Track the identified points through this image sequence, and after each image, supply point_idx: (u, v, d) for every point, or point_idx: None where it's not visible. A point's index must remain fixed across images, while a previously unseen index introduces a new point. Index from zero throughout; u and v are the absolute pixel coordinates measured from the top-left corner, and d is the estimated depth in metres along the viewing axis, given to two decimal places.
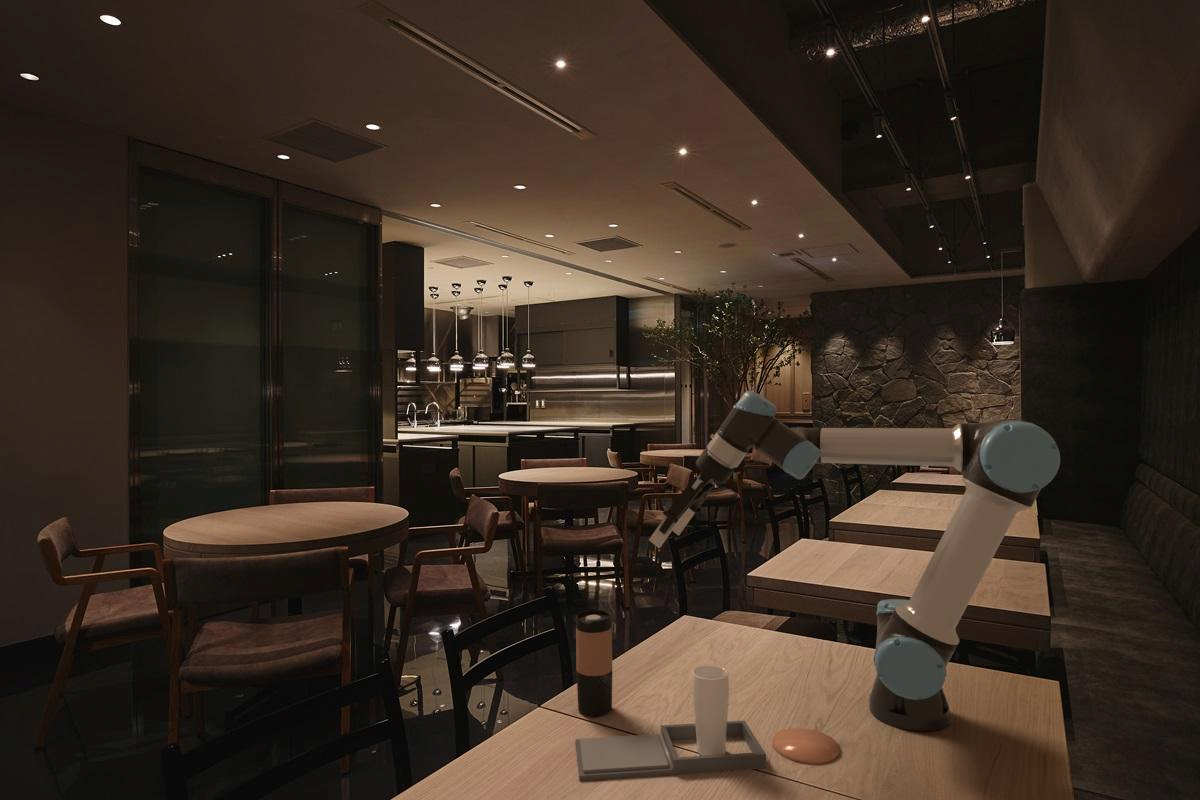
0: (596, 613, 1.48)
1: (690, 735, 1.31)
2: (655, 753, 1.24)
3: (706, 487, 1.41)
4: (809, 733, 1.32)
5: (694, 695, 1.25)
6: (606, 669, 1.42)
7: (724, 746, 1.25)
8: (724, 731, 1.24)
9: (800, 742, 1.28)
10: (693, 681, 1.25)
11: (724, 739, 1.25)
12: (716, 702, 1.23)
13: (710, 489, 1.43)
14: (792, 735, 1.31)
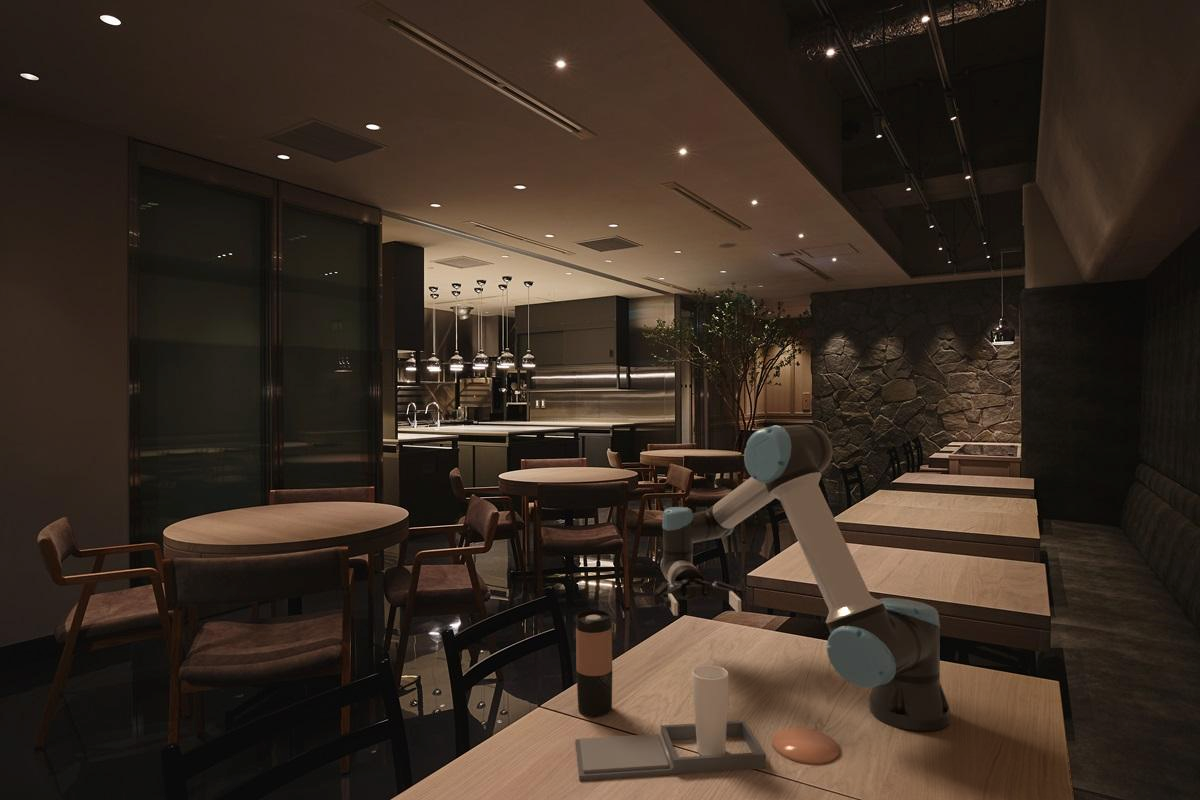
0: (596, 613, 1.48)
1: (690, 735, 1.31)
2: (655, 753, 1.24)
3: None
4: (809, 733, 1.32)
5: (694, 695, 1.25)
6: (606, 669, 1.42)
7: (724, 746, 1.25)
8: (724, 731, 1.24)
9: (800, 742, 1.28)
10: (693, 681, 1.25)
11: (724, 739, 1.25)
12: (716, 702, 1.23)
13: (695, 579, 1.57)
14: (792, 735, 1.31)
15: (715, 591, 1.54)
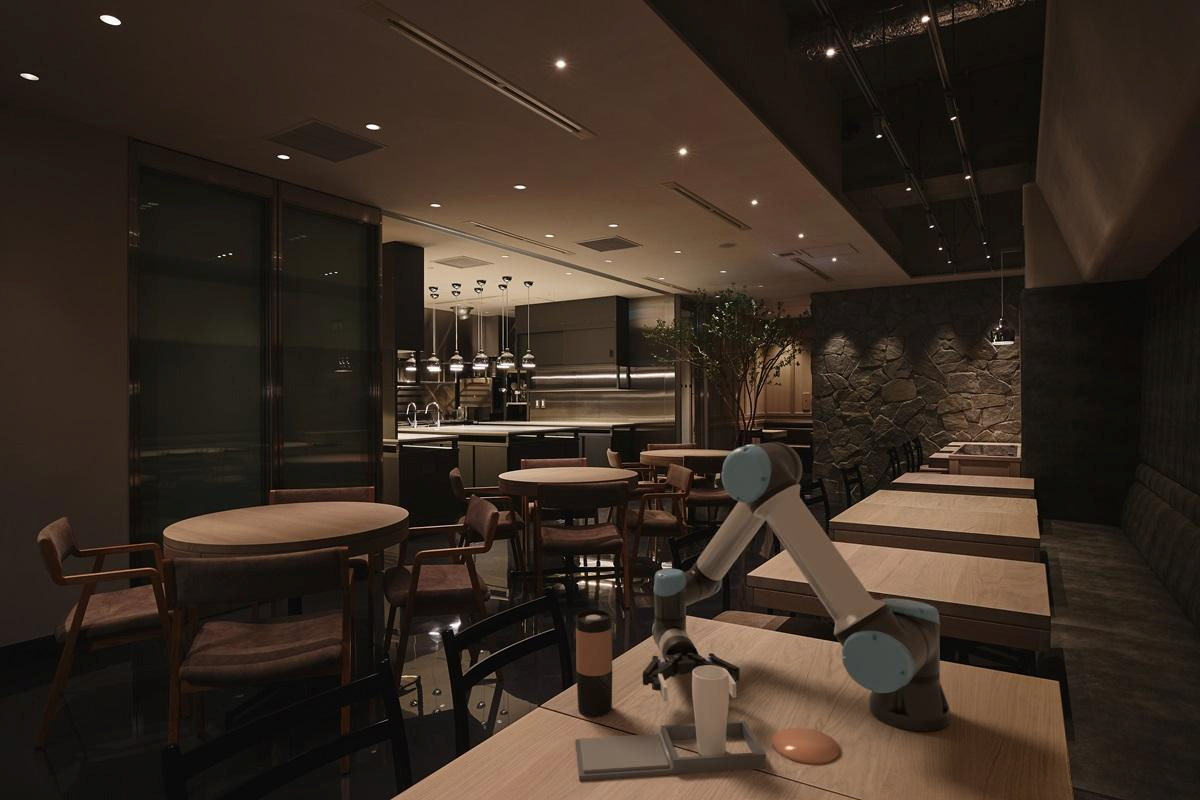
0: (596, 613, 1.48)
1: (690, 735, 1.31)
2: (655, 753, 1.24)
3: None
4: (809, 733, 1.32)
5: (694, 695, 1.25)
6: (606, 669, 1.42)
7: (724, 746, 1.25)
8: (724, 731, 1.24)
9: (800, 742, 1.28)
10: (693, 681, 1.25)
11: (724, 739, 1.25)
12: (716, 702, 1.23)
13: (688, 654, 1.47)
14: (792, 735, 1.31)
15: None
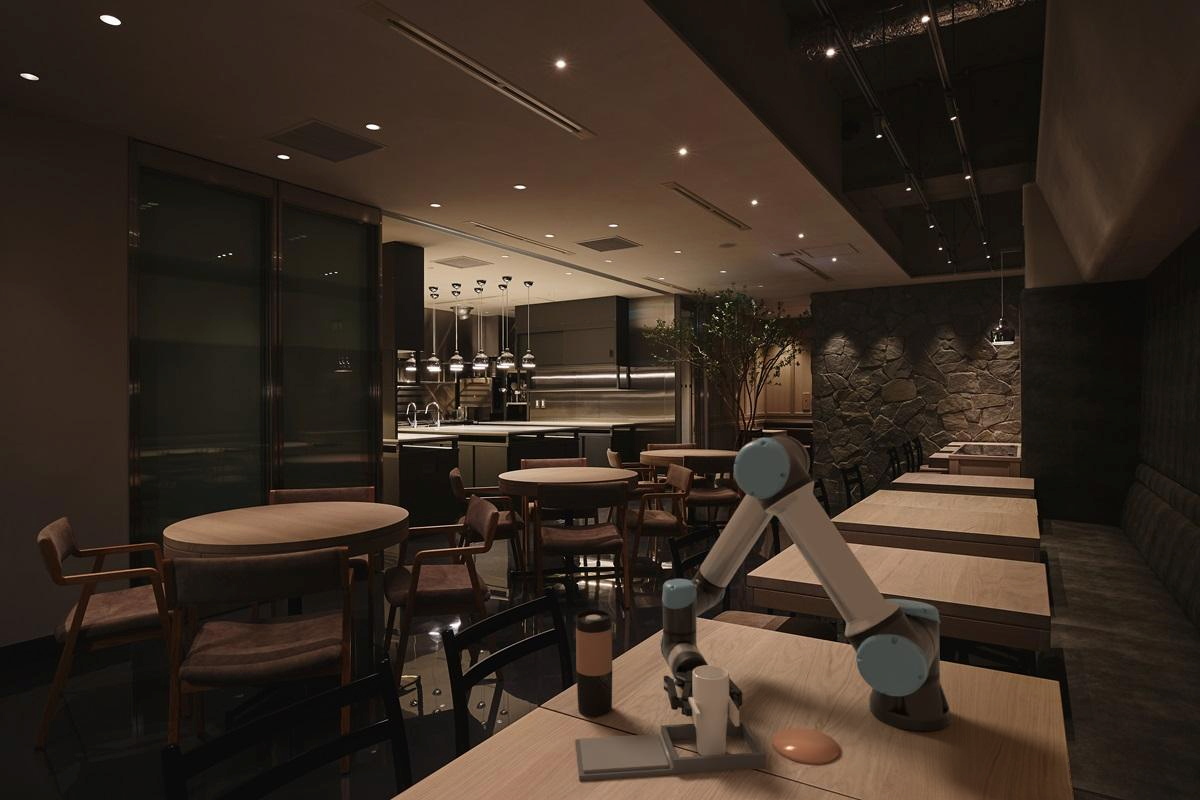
0: (596, 613, 1.48)
1: (690, 735, 1.31)
2: (655, 753, 1.24)
3: None
4: (809, 733, 1.32)
5: (694, 695, 1.25)
6: (606, 669, 1.42)
7: (724, 746, 1.25)
8: (724, 731, 1.24)
9: (800, 742, 1.28)
10: (693, 681, 1.25)
11: (724, 739, 1.25)
12: (716, 702, 1.23)
13: None
14: (792, 735, 1.31)
15: None
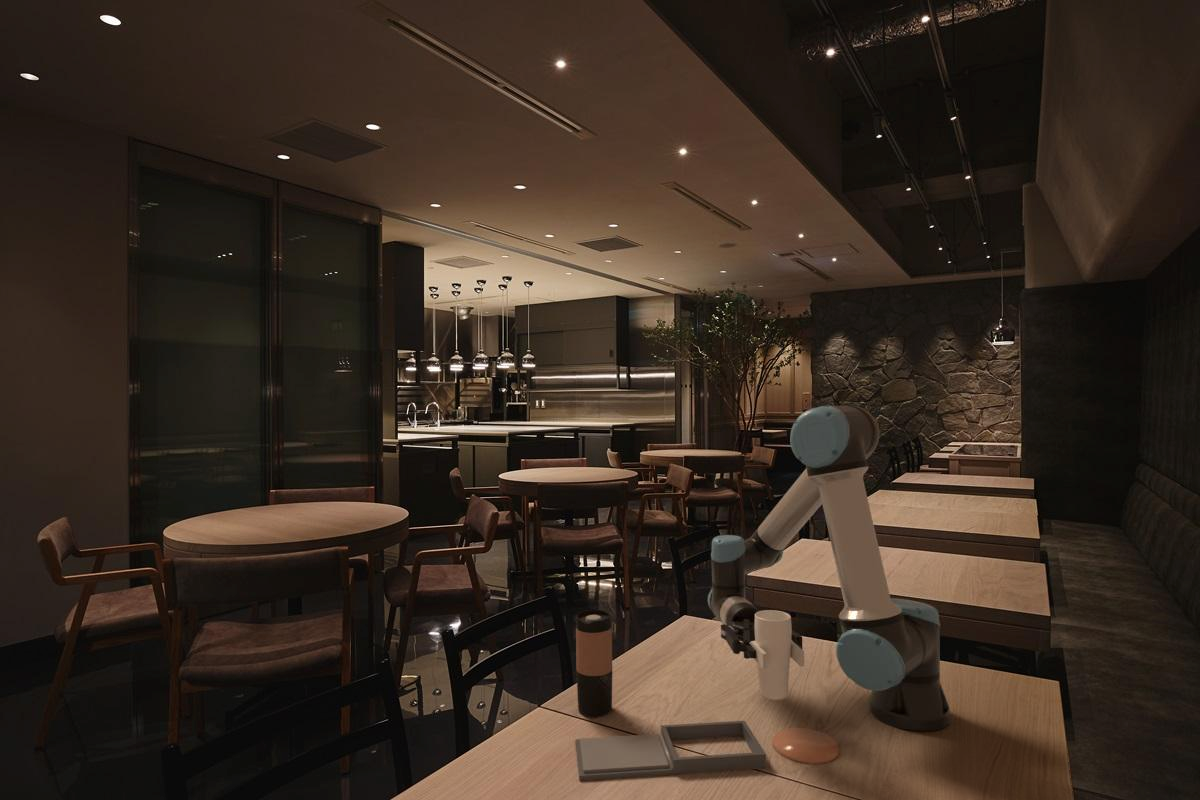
0: (596, 613, 1.48)
1: (690, 735, 1.31)
2: (655, 753, 1.24)
3: (743, 623, 1.39)
4: (809, 733, 1.32)
5: (758, 637, 1.27)
6: (606, 669, 1.42)
7: (787, 687, 1.27)
8: (787, 672, 1.26)
9: (800, 742, 1.28)
10: (756, 624, 1.27)
11: (787, 680, 1.27)
12: (780, 643, 1.25)
13: None
14: (792, 735, 1.31)
15: None
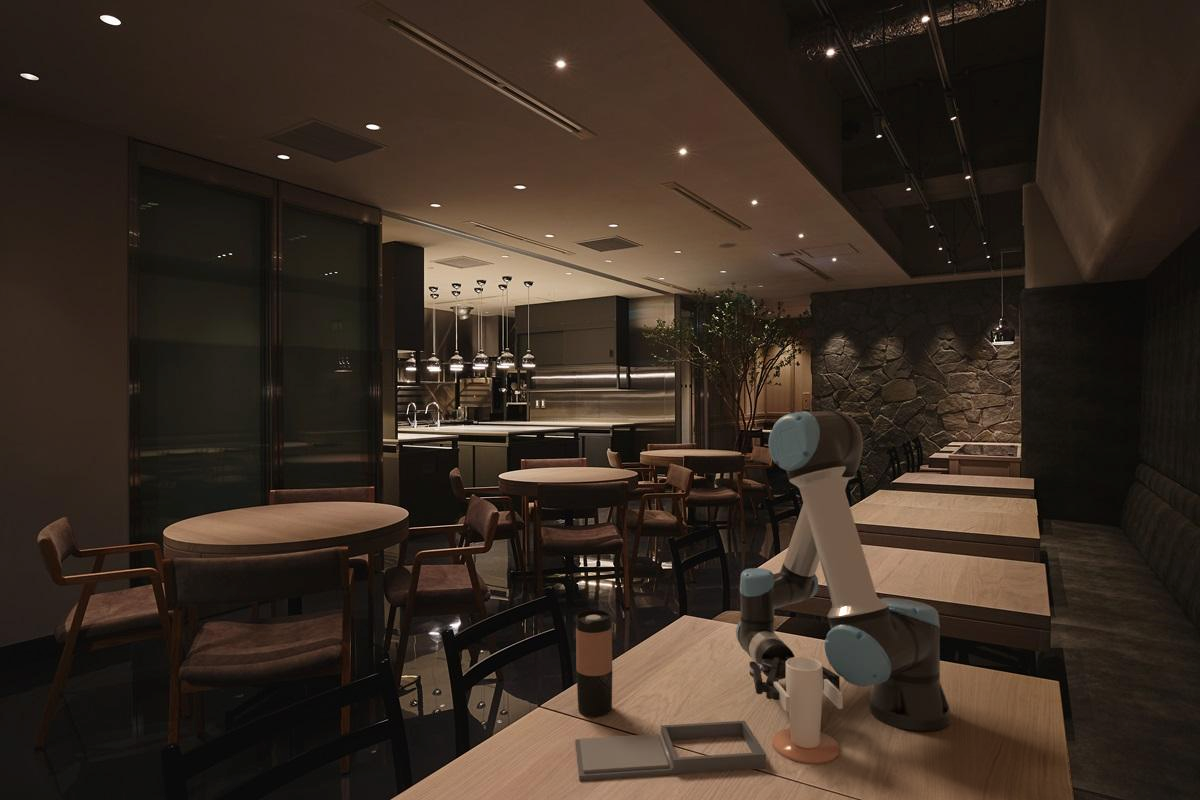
0: (596, 613, 1.48)
1: (690, 735, 1.31)
2: (655, 753, 1.24)
3: (773, 661, 1.39)
4: None
5: (789, 686, 1.27)
6: (606, 669, 1.42)
7: (819, 735, 1.27)
8: (819, 721, 1.26)
9: None
10: (788, 672, 1.27)
11: (819, 729, 1.27)
12: (813, 692, 1.25)
13: (786, 658, 1.39)
14: None
15: None
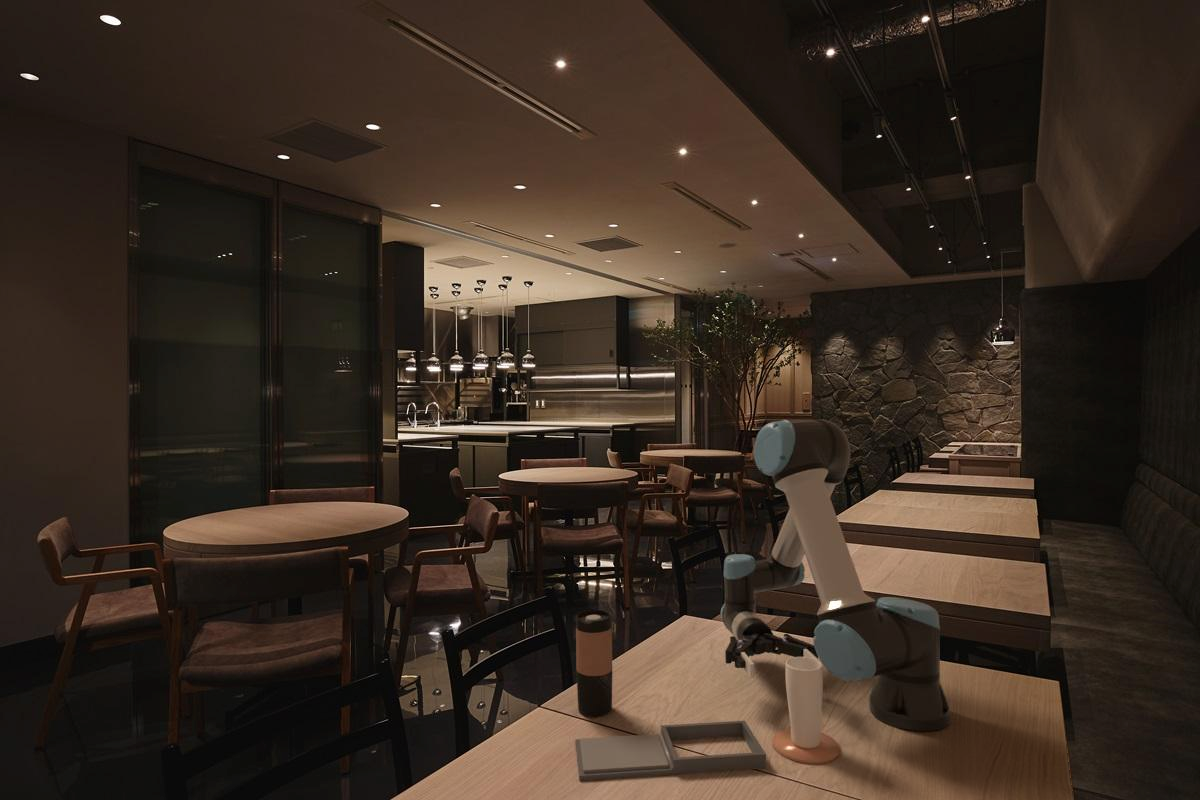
0: (596, 613, 1.48)
1: (690, 735, 1.31)
2: (655, 753, 1.24)
3: None
4: None
5: (789, 686, 1.27)
6: (606, 669, 1.42)
7: None
8: (819, 721, 1.26)
9: None
10: (788, 672, 1.27)
11: (819, 729, 1.27)
12: (813, 692, 1.25)
13: (765, 634, 1.52)
14: None
15: (787, 648, 1.48)
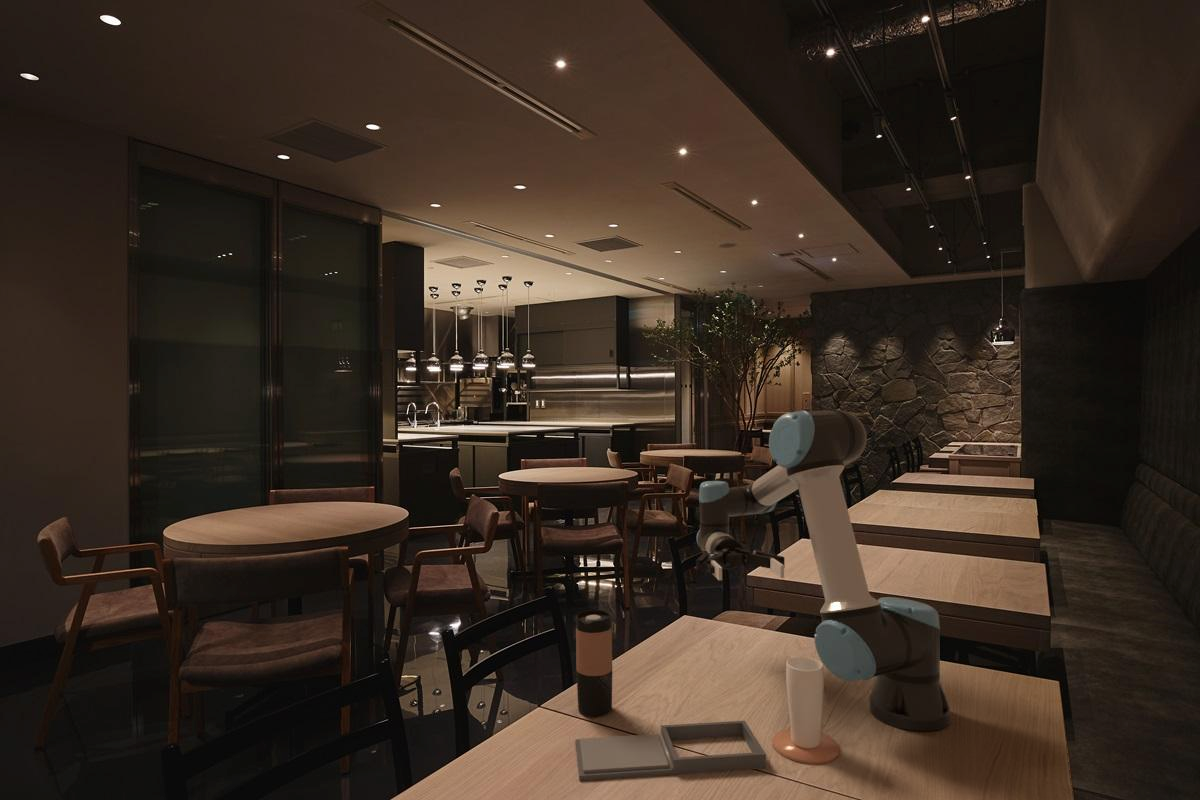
0: (596, 613, 1.48)
1: (690, 735, 1.31)
2: (655, 753, 1.24)
3: None
4: None
5: (790, 686, 1.27)
6: (606, 669, 1.42)
7: (820, 736, 1.27)
8: (820, 721, 1.26)
9: None
10: (788, 673, 1.27)
11: (819, 729, 1.27)
12: (813, 693, 1.25)
13: (735, 548, 1.60)
14: None
15: (756, 559, 1.57)
